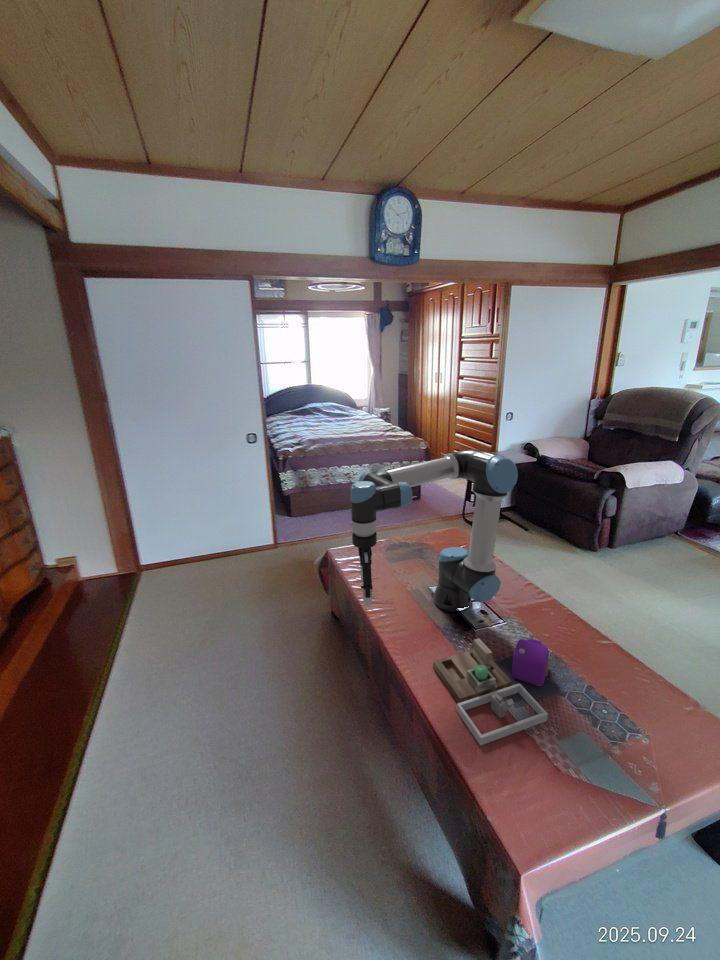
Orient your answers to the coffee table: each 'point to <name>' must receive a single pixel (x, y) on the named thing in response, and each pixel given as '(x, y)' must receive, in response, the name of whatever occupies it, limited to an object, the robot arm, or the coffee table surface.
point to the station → (470, 673)
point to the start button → (481, 673)
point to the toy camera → (530, 662)
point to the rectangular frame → (507, 729)
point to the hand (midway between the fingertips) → (366, 592)
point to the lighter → (500, 705)
